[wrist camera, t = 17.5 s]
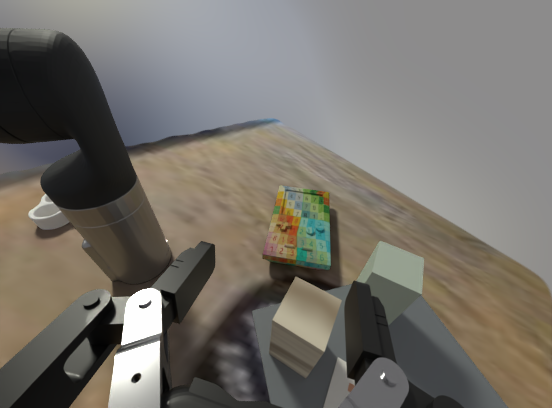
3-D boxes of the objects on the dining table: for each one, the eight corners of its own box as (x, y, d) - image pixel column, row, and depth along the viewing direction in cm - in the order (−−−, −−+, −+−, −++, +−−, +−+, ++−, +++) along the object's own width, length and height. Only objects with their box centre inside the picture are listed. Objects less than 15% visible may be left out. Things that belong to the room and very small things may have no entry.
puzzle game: (262, 251, 38) (280, 182, 53) (262, 266, 41) (278, 197, 56) (331, 263, 37) (330, 189, 52) (326, 277, 40) (325, 204, 55)
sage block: (382, 331, 33) (421, 294, 25) (345, 312, 35) (372, 271, 27) (387, 299, 37) (423, 258, 29) (354, 283, 38) (379, 240, 30)
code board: (303, 565, 19) (304, 569, 19) (252, 312, 35) (251, 310, 34) (526, 436, 26) (532, 436, 25) (400, 272, 41) (402, 269, 41)
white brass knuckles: (87, 236, 44) (19, 227, 45) (138, 182, 58) (85, 176, 58) (78, 224, 42) (6, 215, 43) (134, 171, 55) (78, 165, 56)
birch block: (305, 378, 28) (324, 351, 20) (268, 353, 30) (272, 319, 22) (321, 336, 32) (341, 300, 24) (287, 316, 34) (295, 276, 26)
